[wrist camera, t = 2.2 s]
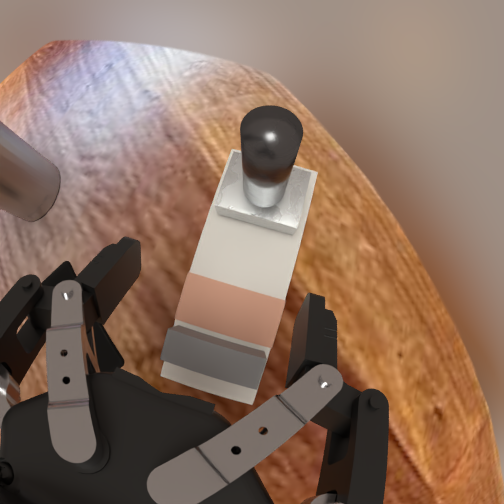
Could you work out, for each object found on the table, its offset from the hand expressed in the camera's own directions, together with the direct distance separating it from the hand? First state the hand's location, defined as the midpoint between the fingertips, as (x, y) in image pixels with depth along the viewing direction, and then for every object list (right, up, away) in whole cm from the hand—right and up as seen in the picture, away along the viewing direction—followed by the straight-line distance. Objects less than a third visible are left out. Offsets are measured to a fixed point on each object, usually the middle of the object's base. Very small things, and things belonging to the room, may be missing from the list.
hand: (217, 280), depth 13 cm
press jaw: (+3, +7, +17) cm, 19 cm away
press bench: (0, -1, +18) cm, 18 cm away
